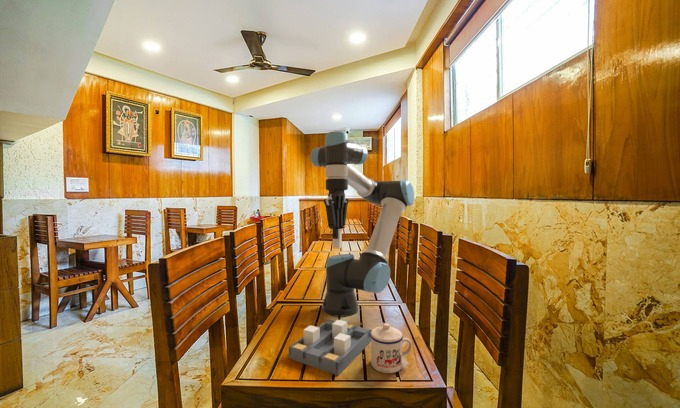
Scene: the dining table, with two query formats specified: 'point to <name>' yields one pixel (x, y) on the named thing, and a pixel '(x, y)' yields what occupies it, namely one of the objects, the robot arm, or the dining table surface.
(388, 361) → the teacup with lid
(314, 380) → the dining table surface
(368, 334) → the switch bank
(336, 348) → the tab
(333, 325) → the tab
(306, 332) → the tab
